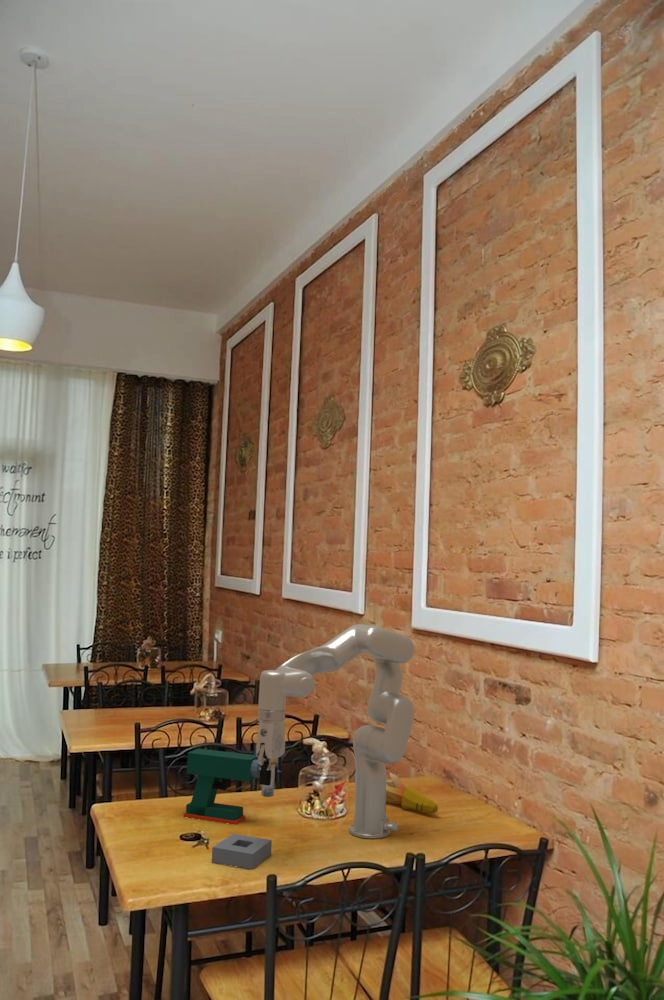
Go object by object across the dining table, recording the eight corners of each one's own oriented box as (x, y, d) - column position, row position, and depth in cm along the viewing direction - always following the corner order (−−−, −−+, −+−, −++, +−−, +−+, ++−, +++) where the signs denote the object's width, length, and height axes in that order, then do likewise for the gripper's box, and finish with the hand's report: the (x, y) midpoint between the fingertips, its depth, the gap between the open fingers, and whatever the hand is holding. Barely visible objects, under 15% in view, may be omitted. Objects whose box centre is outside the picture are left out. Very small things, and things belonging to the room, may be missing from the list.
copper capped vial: (276, 794, 222) (278, 755, 223) (271, 797, 218) (273, 758, 219) (264, 792, 223) (266, 753, 224) (258, 795, 220) (260, 756, 221)
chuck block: (271, 854, 221) (271, 839, 221) (252, 869, 210) (252, 853, 210) (232, 848, 225) (233, 833, 226) (211, 862, 214) (212, 847, 214)
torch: (432, 830, 257) (378, 801, 276) (447, 815, 262) (393, 787, 281) (427, 810, 255) (372, 782, 274) (442, 795, 259) (388, 769, 278)
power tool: (285, 824, 248) (287, 758, 249) (276, 831, 241) (278, 763, 243) (194, 811, 258) (196, 747, 260) (183, 817, 252) (186, 752, 253)
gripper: (271, 721, 214) (268, 791, 212) (295, 712, 229) (291, 778, 227) (246, 718, 216) (242, 788, 215) (271, 710, 232) (267, 774, 230)
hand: (268, 782), depth 221 cm, fingers closed on copper capped vial, 3 cm apart
